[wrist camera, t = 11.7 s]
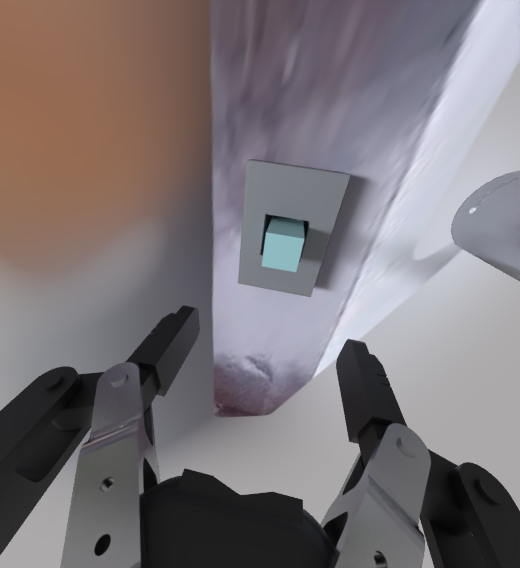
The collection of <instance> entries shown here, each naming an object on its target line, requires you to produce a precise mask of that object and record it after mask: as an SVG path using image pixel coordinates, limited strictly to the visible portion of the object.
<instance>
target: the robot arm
mask: <svg viewBox="0 0 520 568" xmlns="http://www.w3.org/2000/svg"><path fill="white" fill-rule="evenodd" d="M451 234H452V238H453V240H454V242H455V243H456V244H457V245H458V246H459V247H460V248H462V249H464V250H466V251H467V252H469V253H471V254H473V255H474V256H476V257H478V258H480V259H481V260H483V261H485V262H486V263H488V264H490V265H492V266H494V267H495V268H497V269H499V270H501V271H503V272H504V273H506V274H508V275H510V276H511V277H513V278H515V279H517V280H519V281H520V171H517V172H512V173H508V174H505V175H503V176H500V177H497V178H495V179H493V180H492V181H490V182H488V183H486V184H485V185H483V186H482V187H480V188H479V189H477V190H476V191H475V192H474V193H473V194H471V195H470V196H469V197H468V198H467V199H466V200H465V201H464V203H463V204H462V205H461V206H460V208H459V209H458V211H457V213H456V214H455V216H454V219H453V222H452V227H451ZM199 329H200V326H199V313H198V309H197V308H193V307H189V306H182V307H181V308H180V309H179V311H178V312H177V313H176V314H174V313H171V314H169V315H167V316H166V317H164V318H163V319H162V320H161V321H160V322H159V323H158V324H157V325H156V328H154V329H153V330H152V331H151V333H150V334H149V335H148V336H147V337H146V338H145V340H144V341H143V342H142V343H141V344H140V346H139V347H138V348H137V349H136V350H135V352H134V353H133V354H132V355H131V356H130V357H129V359H128V360H127V361H126V362H123V363H119V364H116V365H114V366H112V367H110V368H109V369H107V370H106V371H105V372H100V373H90V374H78V373H77V372H76V370H75V369H74V368H72V367H59V368H55V369H52V370H50V371H48V372H46V373H44V374H42V375H41V376H39V377H38V378H37V379H36V380H34V381H33V382H32V383H31V384H30V385H29V386H28V387H26V388H25V389H24V390H23V391H22V392H21V393H20V394H19V395H18V396H16V397H15V398H14V399H13V400H12V401H11V402H10V403H9V404H8V405H6V406H5V407H4V408H3V409H2V410H1V411H0V555H1V553H2V552H3V551H4V549H5V548H6V546H7V545H8V544H9V542H10V541H11V539H12V538H13V536H14V535H15V534H16V532H17V531H18V529H19V528H20V527H21V525H22V524H23V522H24V521H25V520H26V518H27V517H28V515H29V514H30V513H31V511H32V510H33V508H34V507H35V506H36V504H37V503H38V501H39V500H40V499H41V497H42V496H43V494H44V493H45V491H46V490H47V488H48V487H49V486H50V485H51V483H52V482H53V480H54V479H55V477H56V476H57V475H58V473H59V472H60V470H61V469H62V468H63V466H64V465H65V463H66V462H67V461H68V459H69V458H70V456H71V455H72V453H73V452H74V451H75V449H76V448H77V446H78V445H79V444H80V442H81V441H82V439H83V438H84V436H85V435H86V434H87V432H88V431H89V430H90V428H91V432H90V437H89V440H88V442H86V443H84V445H82V447H81V450H80V452H79V457H78V462H77V468H76V474H75V481H74V487H73V493H72V500H71V506H70V512H69V518H68V524H67V531H66V537H65V543H64V549H63V555H62V561H61V568H422V563H423V557H424V551H425V540H424V535H423V534H422V532H421V531H420V530H419V527H418V522H419V517H420V520H421V524H422V527H423V531H424V534H425V537H426V541H427V544H428V547H429V551H430V554H431V558H432V561H433V564H434V568H520V511H519V509H518V507H517V506H516V504H515V502H514V501H513V499H512V497H511V496H510V494H509V493H508V492H507V490H506V489H505V488H504V486H503V485H502V484H501V483H500V482H499V481H498V480H497V479H496V478H495V477H494V476H493V475H492V474H490V473H489V472H488V471H486V470H485V469H484V468H482V467H480V466H478V465H476V464H474V463H469V462H467V463H463V464H461V465H459V466H457V465H456V464H454V463H452V462H450V461H448V460H447V459H445V458H443V457H441V456H439V455H437V454H436V453H434V452H432V451H431V450H429V449H427V447H426V445H425V444H424V442H423V441H422V440H421V439H420V437H419V436H418V435H417V434H416V433H415V432H413V431H412V430H411V429H410V428H408V427H407V425H406V423H405V420H404V418H403V415H402V413H401V410H400V408H399V405H398V403H397V400H396V398H395V396H394V393H393V390H392V388H391V387H390V383H389V381H388V378H387V377H386V376H387V375H386V373H385V370H384V368H383V366H382V364H381V363H380V362H379V361H378V359H377V358H376V357H375V355H371V354H369V352H368V349H367V346H366V344H365V343H364V342H360V341H356V340H351V339H348V340H347V341H346V342H345V344H344V346H343V348H342V350H341V352H340V354H339V356H338V358H337V363H336V369H337V375H338V381H339V386H340V391H341V397H342V403H343V408H344V414H345V420H346V426H347V431H348V437H349V442H353V443H358V444H359V447H360V453H359V454H358V456H357V458H356V460H355V462H354V464H353V466H352V468H351V470H350V472H349V475H348V476H347V478H346V480H345V482H344V484H343V487H342V489H341V491H340V493H339V495H338V496H337V498H336V499H335V501H334V502H333V503H332V505H331V506H330V508H329V509H328V511H327V513H326V515H325V516H324V519H323V521H322V522H321V524H319V523H318V522H317V521H316V520H315V519H314V518H313V516H311V515H310V514H309V513H308V512H307V511H306V510H304V509H303V500H301V499H298V498H294V497H290V496H287V495H283V494H278V493H275V492H267V493H258V494H249V495H239V494H238V493H236V492H235V491H233V490H232V489H230V488H229V487H227V486H226V485H225V484H223V483H222V482H220V481H219V480H218V479H216V478H215V477H214V476H211V475H207V474H204V473H200V472H196V471H192V470H189V469H184V472H183V474H182V476H177V477H174V478H170V479H167V480H165V481H163V482H161V483H160V472H159V465H158V459H157V454H156V447H155V437H154V424H153V411H152V401H153V400H154V398H155V396H156V395H161V396H165V395H166V393H167V391H168V389H169V387H170V386H171V384H172V382H173V380H174V379H175V377H176V375H177V373H178V371H179V370H180V368H181V366H182V364H183V362H184V361H185V359H186V357H187V355H188V354H189V352H190V350H191V348H192V346H193V344H194V343H195V341H196V339H197V337H198V334H199ZM472 535H473V536H472ZM480 554H481V555H480ZM483 561H484V562H483Z"/></svg>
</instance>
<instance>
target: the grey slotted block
mask: <svg viewBox="0 0 520 568" xmlns="http://www.w3.org/2000/svg"><path fill="white" fill-rule="evenodd" d="M349 179H350V175H349V174H346V173H342V172H336V171H329V170H322V169H315V168H308V167H302V166H295V165H288V164H281V163H274V162H268V161H261V160H254V159H250V160H247V163H246V177H245V191H244V206H243V220H242V234H241V249H240V263H239V278H238V283H239V284H244V285H250V286H255V287H260V288H265V289H271V290H276V291H281V292H286V293H291V294H297V295H302V296H307V297H311V294H312V291H313V288H314V285H315V282H316V279H317V276H318V273H319V270H320V267H321V263H322V260H323V257H324V254H325V251H326V248H327V245H328V242H329V239H330V236H331V233H332V230H333V227H334V224H335V221H336V218H337V215H338V212H339V209H340V206H341V203H342V200H343V197H344V194H345V191H346V188H347V185H348V182H349ZM268 214H269V215H275V216H281V217H287V218H293V219H299V220H305V221H308V222H307V226H306V230H305V234H304V238H305V239H304V243H303V247H302V251H301V255H300V259H299V263H298V267H297V271H296V272H291V271H286V270H280V269H275V268H269V267H264V266H262V259H263V252H264V239H265V232H266V225H267V218H268Z"/></svg>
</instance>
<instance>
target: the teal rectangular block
mask: <svg viewBox="0 0 520 568" xmlns="http://www.w3.org/2000/svg"><path fill="white" fill-rule="evenodd" d="M304 239H305V238H304V226H303V220H299V219H293V218H287V217H281V216H275V215H273V217H272V220H271V222H270V224H269V227H268V229H267V232H266V237H265V245H264V252H263V259H262V266H264V267H269V268H275V269H280V270H286V271H291V272H296V271H297V267H298V263H299V259H300V255H301V251H302V247H303V243H304Z"/></svg>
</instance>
